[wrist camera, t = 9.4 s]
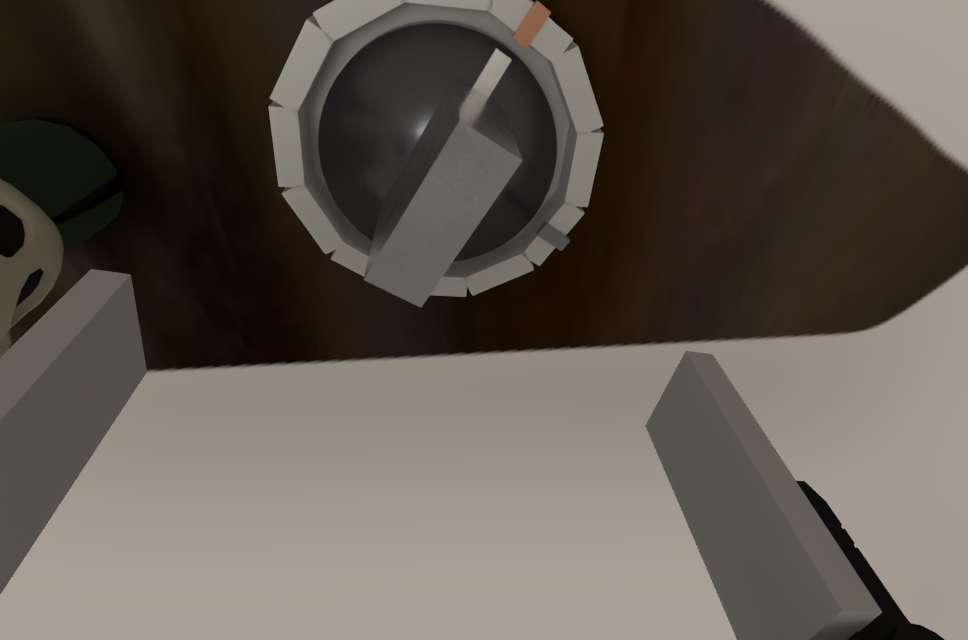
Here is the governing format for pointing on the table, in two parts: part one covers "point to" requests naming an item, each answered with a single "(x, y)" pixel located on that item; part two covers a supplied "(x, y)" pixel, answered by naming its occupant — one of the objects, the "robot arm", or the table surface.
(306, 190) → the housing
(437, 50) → the dial
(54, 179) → the character mug
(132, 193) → the table surface
